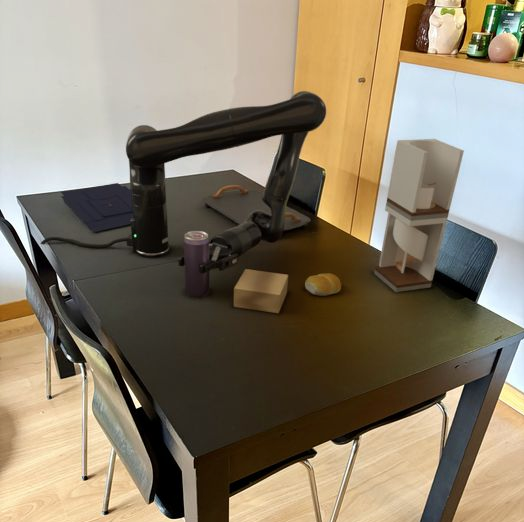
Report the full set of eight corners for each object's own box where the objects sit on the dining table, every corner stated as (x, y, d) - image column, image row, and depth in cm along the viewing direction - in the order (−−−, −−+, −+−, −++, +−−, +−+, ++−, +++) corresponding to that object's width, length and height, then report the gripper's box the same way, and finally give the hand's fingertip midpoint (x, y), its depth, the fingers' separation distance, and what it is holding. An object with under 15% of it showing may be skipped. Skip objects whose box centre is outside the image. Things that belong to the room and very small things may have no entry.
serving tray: (196, 204, 189) (195, 186, 186) (252, 195, 201) (252, 178, 197) (257, 243, 163) (258, 223, 160) (317, 230, 174) (319, 211, 171)
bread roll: (346, 291, 140) (348, 277, 138) (318, 299, 136) (320, 285, 134) (326, 278, 146) (328, 265, 143) (299, 286, 141) (300, 272, 139)
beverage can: (205, 299, 133) (205, 241, 125) (182, 296, 134) (180, 238, 126) (212, 288, 138) (212, 232, 130) (189, 285, 139) (188, 229, 131)
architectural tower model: (373, 273, 150) (397, 140, 130) (407, 269, 153) (434, 138, 134) (395, 292, 141) (424, 152, 122) (430, 287, 144) (463, 150, 125)
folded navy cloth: (123, 189, 195) (122, 179, 193) (164, 225, 178) (164, 215, 176) (55, 200, 182) (54, 190, 180) (93, 240, 165) (92, 229, 163)
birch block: (233, 306, 131) (233, 288, 128) (244, 286, 140) (245, 268, 137) (278, 313, 129) (279, 294, 126) (286, 292, 138) (288, 274, 135)
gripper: (208, 224, 143) (166, 243, 131) (254, 237, 137) (214, 259, 125) (209, 250, 147) (167, 272, 135) (253, 264, 141) (214, 288, 129)
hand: (190, 266), depth 130 cm, fingers closed on beverage can, 6 cm apart
